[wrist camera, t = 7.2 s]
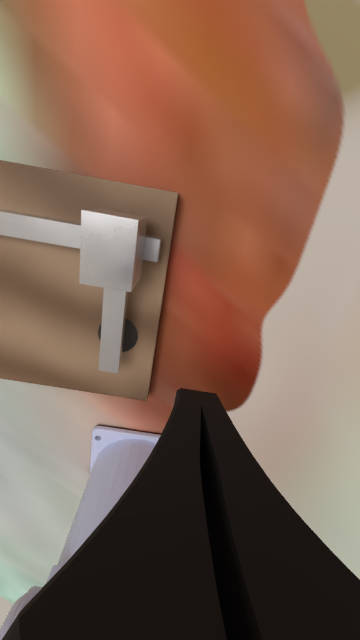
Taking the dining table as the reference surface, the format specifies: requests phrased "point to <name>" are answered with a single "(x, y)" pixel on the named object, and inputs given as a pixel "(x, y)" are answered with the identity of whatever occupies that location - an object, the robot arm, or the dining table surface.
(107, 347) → the trammel
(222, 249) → the dining table surface
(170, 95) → the dining table surface
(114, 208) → the slide rail board
